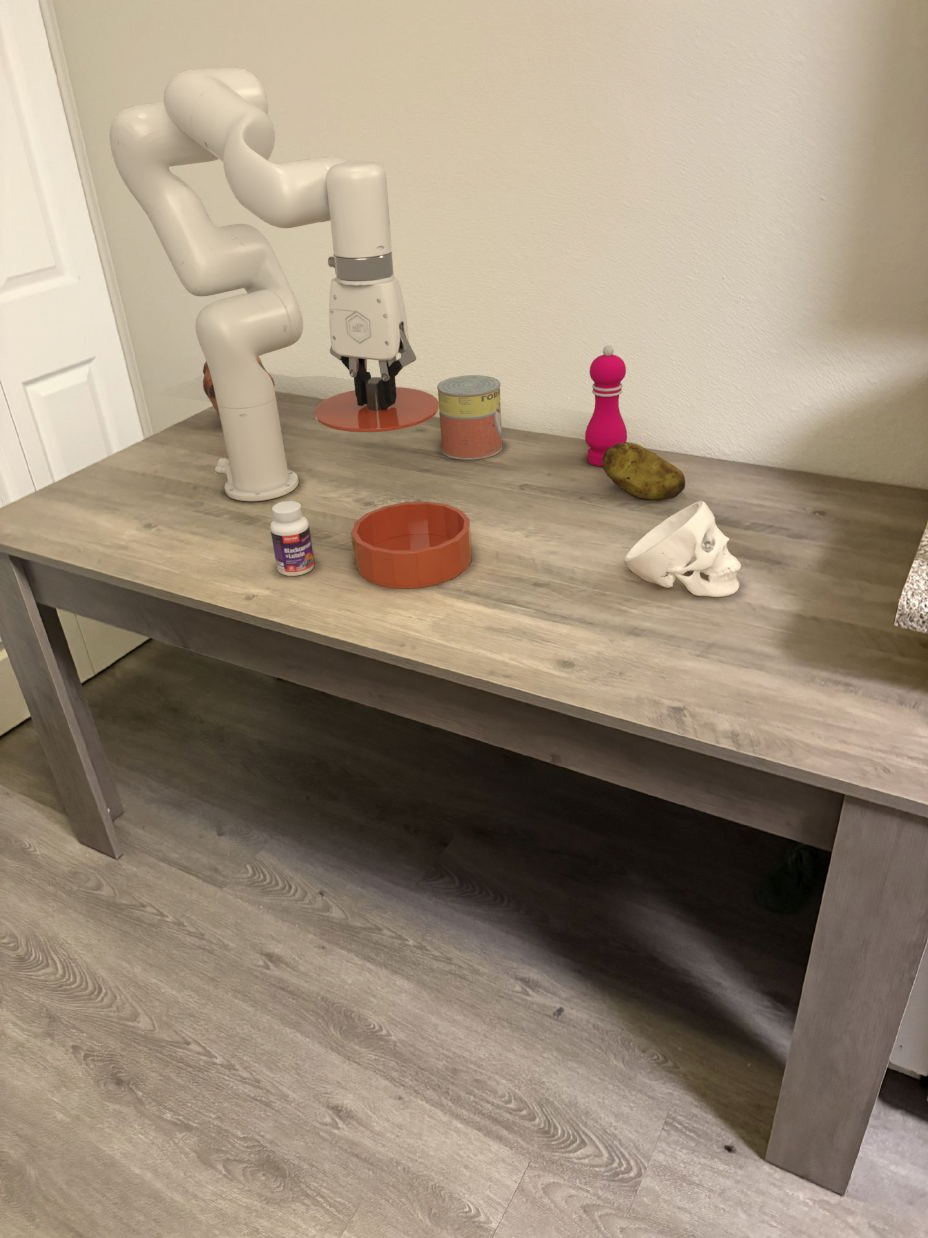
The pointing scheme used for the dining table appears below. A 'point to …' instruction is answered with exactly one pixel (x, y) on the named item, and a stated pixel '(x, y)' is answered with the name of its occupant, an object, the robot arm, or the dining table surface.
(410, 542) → the pot
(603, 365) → the pepper mill
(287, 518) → the pill bottle
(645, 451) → the potato
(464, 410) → the canned food
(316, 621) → the dining table surface
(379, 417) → the lid
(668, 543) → the skull bowl
